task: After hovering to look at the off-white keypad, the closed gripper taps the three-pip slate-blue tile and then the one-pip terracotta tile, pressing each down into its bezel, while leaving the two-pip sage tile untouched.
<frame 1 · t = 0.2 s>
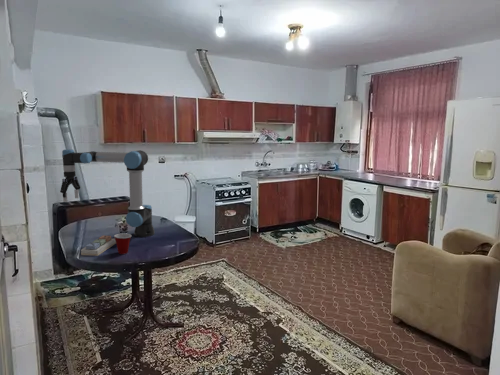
hand: (71, 200, 252), 28 cm above the table, fingers open, 13 cm apart
tile two: (99, 241, 231), point 5 cm above the table, slide at 0.0 cm
tile one: (105, 238, 239), point 5 cm above the table, slide at 0.0 cm
tile three: (92, 245, 223), point 5 cm above the table, slide at 0.0 cm
plastic cup: (123, 253, 225), on the table
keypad: (99, 248, 232), on the table
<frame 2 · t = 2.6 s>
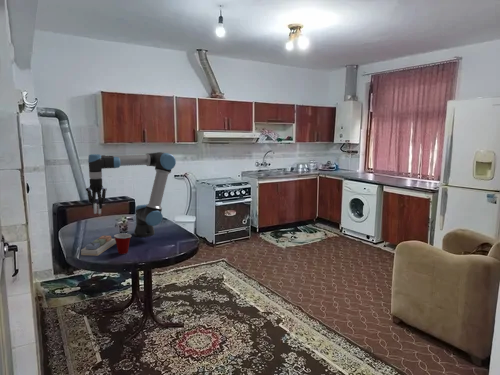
hand: (97, 213, 228), 24 cm above the table, fingers open, 2 cm apart
nothing on the table moved.
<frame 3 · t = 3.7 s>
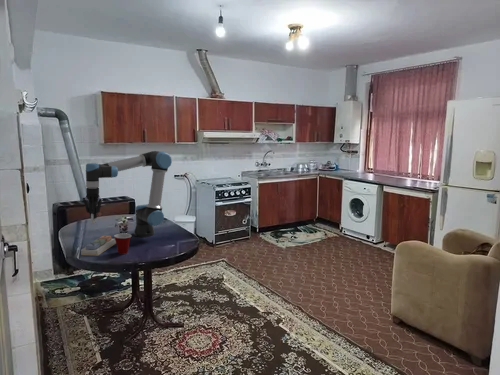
hand: (93, 223, 224), 19 cm above the table, fingers closed
nothing on the table moved.
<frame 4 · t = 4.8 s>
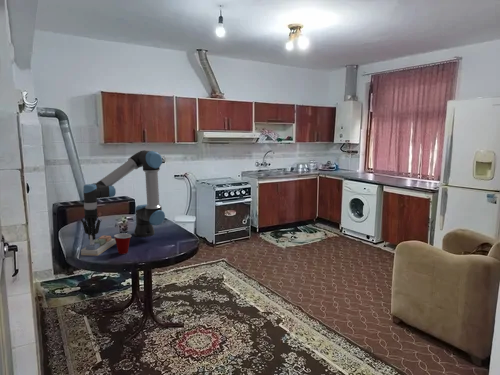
hand: (92, 244, 223), 6 cm above the table, fingers closed
tile three: (92, 246, 223), point 4 cm above the table, slide at 0.4 cm, touching gripper
everything else where it was.
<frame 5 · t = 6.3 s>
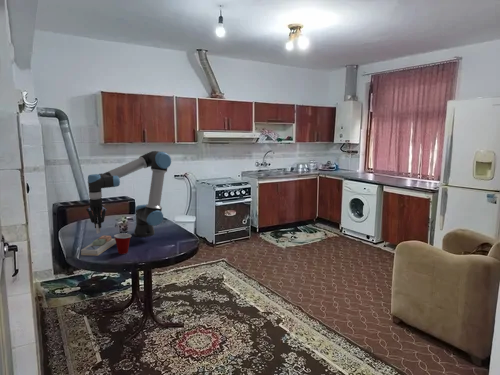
hand: (98, 232, 228), 12 cm above the table, fingers closed
tile three: (93, 249, 223), point 3 cm above the table, slide at 2.2 cm
everything else where it was.
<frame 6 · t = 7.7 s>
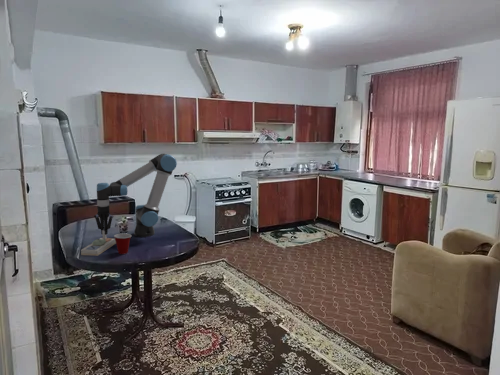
hand: (104, 238, 239), 4 cm above the table, fingers closed
tile one: (105, 240, 239), point 3 cm above the table, slide at 1.8 cm, touching gripper
everything else where it was.
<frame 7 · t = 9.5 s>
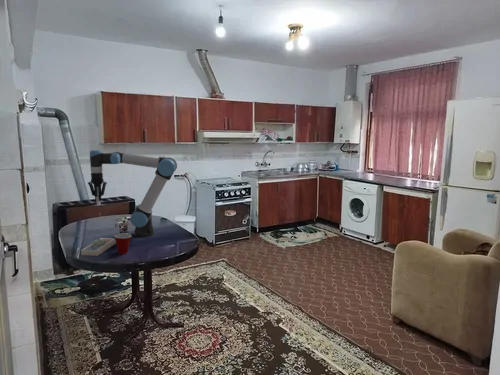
hand: (98, 205, 245), 26 cm above the table, fingers closed
tile one: (105, 241, 239), point 3 cm above the table, slide at 2.2 cm
everything else where it was.
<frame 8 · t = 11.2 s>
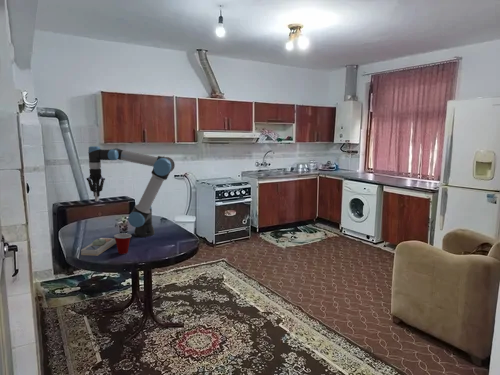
hand: (96, 200, 248), 28 cm above the table, fingers closed
nothing on the table moved.
at the end: tile three slide at 2.2 cm; tile one slide at 2.2 cm; tile two slide at 0.0 cm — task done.
